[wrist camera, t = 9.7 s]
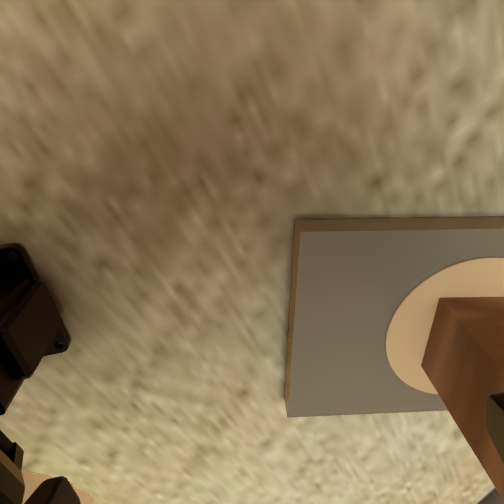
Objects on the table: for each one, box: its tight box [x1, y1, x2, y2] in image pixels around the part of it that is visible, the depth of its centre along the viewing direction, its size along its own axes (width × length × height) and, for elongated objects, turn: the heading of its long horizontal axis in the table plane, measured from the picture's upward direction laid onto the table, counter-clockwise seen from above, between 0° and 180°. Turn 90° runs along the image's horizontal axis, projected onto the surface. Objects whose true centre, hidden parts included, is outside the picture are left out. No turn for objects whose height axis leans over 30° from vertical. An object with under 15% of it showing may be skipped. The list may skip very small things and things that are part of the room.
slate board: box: [284, 217, 504, 417], centre depth 23 cm, size 14×12×2 cm
